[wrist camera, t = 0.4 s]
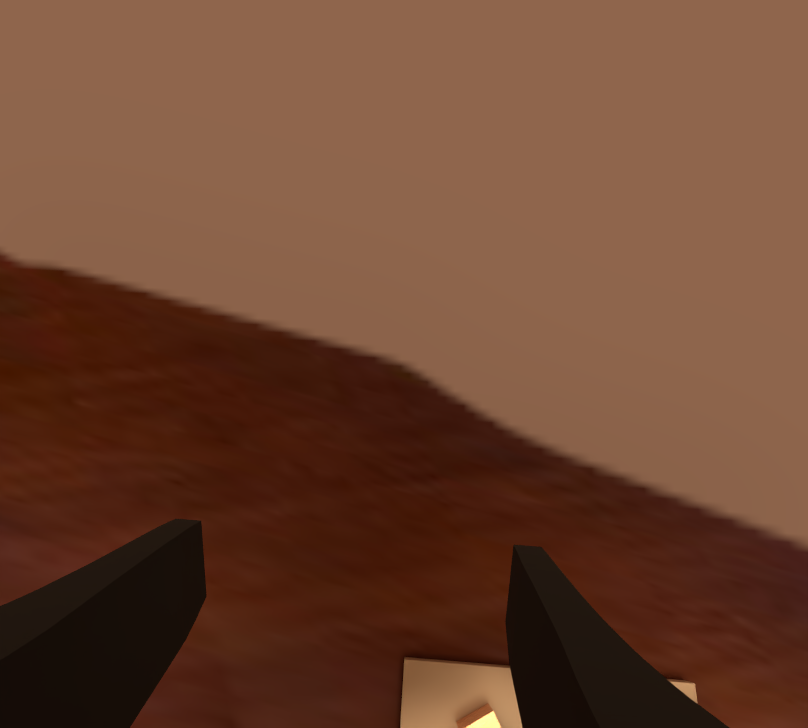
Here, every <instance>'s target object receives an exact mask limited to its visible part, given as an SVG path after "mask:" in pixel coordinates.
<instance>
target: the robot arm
mask: <svg viewBox="0 0 808 728" xmlns="http://www.w3.org/2000/svg"><path fill="white" fill-rule="evenodd" d="M205 598H206V584H205V569H204V555H203V541H202V526H201V521H197V520H184V519H175V520H172V521H170V522H168V523H166V524H163V525H161V526H159V527H157V528H155V529H154V530H152V531H150V532H148V533H146V534H144V535H142V536H140V537H139V538H137V539H135V540H133V541H131V542H129V543H127V544H126V545H124V546H122V547H120V548H118V549H116V550H114V551H113V552H111V553H109V554H107V555H105V556H103V557H101V558H100V559H98V560H96V561H94V562H92V563H90V564H88V565H86V566H84V567H82V568H80V569H78V570H76V571H74V572H72V573H70V574H68V575H66V576H64V577H62V578H60V579H58V580H56V581H54V582H52V583H50V584H48V585H46V586H44V587H42V588H40V589H38V590H36V591H34V592H31V593H29V594H27V595H25V596H23V597H20V598H18V599H16V600H14V601H11V602H9V603H7V604H4V605H2V606H0V728H130V726H131V725H132V723H133V722H134V720H135V719H136V717H137V715H138V714H139V712H140V711H141V709H142V708H143V706H144V705H145V703H146V701H147V700H148V698H149V697H150V695H151V694H152V692H153V691H154V689H155V687H156V686H157V684H158V683H159V681H160V680H161V678H162V677H163V675H164V673H165V672H166V670H167V669H168V667H169V666H170V664H171V662H172V661H173V659H174V658H175V656H176V654H177V653H178V651H179V650H180V648H181V646H182V645H183V643H184V642H185V640H186V638H187V636H188V634H189V632H190V630H191V628H192V626H193V624H194V622H195V620H196V618H197V616H198V614H199V611H200V609H201V607H202V605H203V603H204V600H205ZM506 632H507V643H508V653H509V662H510V670H511V675H512V680H513V685H514V690H515V694H516V699H517V704H518V709H519V713H520V718H521V723H522V727H523V728H729V727H728V726H726V725H725V724H724V723H722V722H721V721H720V720H718V719H717V718H716V717H714V716H713V715H712V714H710V713H709V712H708V711H706V710H705V709H704V708H702V707H701V706H700V705H698V704H697V703H696V702H694V701H693V700H692V699H690V698H689V697H688V696H687V695H685V694H684V693H683V692H682V691H680V690H679V689H678V688H677V687H675V686H674V685H673V684H672V683H671V682H669V681H668V680H667V679H666V678H665V677H664V676H663V675H661V674H660V673H659V672H658V671H657V670H656V669H654V668H653V667H652V666H651V665H650V664H649V663H648V662H646V661H645V660H644V659H643V658H642V657H641V656H640V655H639V654H638V653H636V652H635V651H634V650H633V649H632V648H631V647H630V646H629V645H628V644H627V643H626V642H625V641H624V640H623V639H622V638H621V637H620V636H619V635H618V634H617V633H616V632H615V631H614V630H613V629H612V628H611V627H610V626H609V625H608V624H607V623H606V622H605V621H604V620H603V619H602V618H601V617H600V616H599V614H598V613H597V612H596V611H595V610H594V609H593V608H592V607H591V606H590V604H589V603H588V602H587V601H586V600H585V599H584V598H583V597H582V595H581V594H580V593H579V592H578V591H577V590H576V588H575V587H574V586H573V585H572V584H571V582H570V581H569V580H568V579H567V578H566V576H565V575H564V574H563V573H562V571H561V570H560V569H559V568H558V567H557V565H556V564H555V563H554V562H553V560H552V559H551V558H550V557H549V555H548V554H547V553H546V552H545V551H544V550H543V548H542V547H535V546H522V545H514V546H513V556H512V565H511V575H510V585H509V594H508V604H507V614H506Z"/></svg>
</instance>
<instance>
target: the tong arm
mask: <svg viewBox="0 0 808 728" xmlns="http://www.w3.org/2000/svg"><path fill="white" fill-rule="evenodd" d="M456 723H457V726H458V728H501V726H500V724H499V722H498V720H497V718H496V716H495V713H494V711H493V710H492V708H491V707H490V705H489V704H488V703H487V704H485V705H484V706H482V707H480V708H478V709H477V710H475V711H473V712H472V713H470V714H468V715H467V716H465V717H463V718H462V719H460V720H458V721H456Z"/></svg>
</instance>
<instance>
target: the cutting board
mask: <svg viewBox="0 0 808 728" xmlns="http://www.w3.org/2000/svg"><path fill="white" fill-rule="evenodd" d="M667 680H668V681H669V682H671V683H672V684H673V685H674V686H675V687H677V688H678V689H679V690H680V691H682V692H683V693H684V694H685V695H687V696H688V697H689V698H690V699H692V700H693V701H694V702H696V703H697V697H696V689H695V683H692V682H689V681H686V680H676V679H667ZM487 703H488V704H489V705H490V707H491V708H492V710H493V711H494V713H495V716H496V718H497V720H498V722H499V724H500V726H501V728H523V727H522V723H521V718H520V713H519V709H518V704H517V699H516V694H515V690H514V685H513V680H512V675H511V670H510V666H507V665H495V664H483V663H471V662H459V661H447V660H435V659H423V658H411V657H405V658H404V674H403V690H402V707H401V723H400V728H458V726H457V723H456V721H458V720H460V719H462V718H463V717H465V716H467V715H468V714H470V713H472V712H473V711H475V710H477V709H478V708H480V707H482V706H484V705H485V704H487Z"/></svg>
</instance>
